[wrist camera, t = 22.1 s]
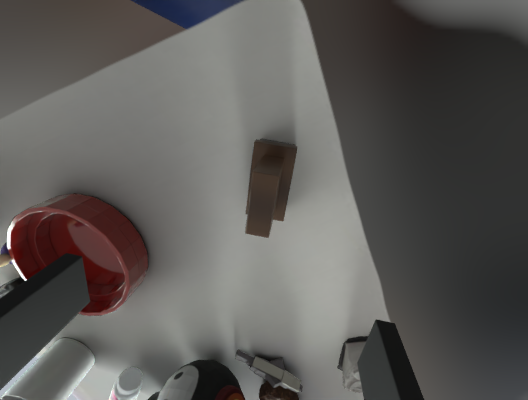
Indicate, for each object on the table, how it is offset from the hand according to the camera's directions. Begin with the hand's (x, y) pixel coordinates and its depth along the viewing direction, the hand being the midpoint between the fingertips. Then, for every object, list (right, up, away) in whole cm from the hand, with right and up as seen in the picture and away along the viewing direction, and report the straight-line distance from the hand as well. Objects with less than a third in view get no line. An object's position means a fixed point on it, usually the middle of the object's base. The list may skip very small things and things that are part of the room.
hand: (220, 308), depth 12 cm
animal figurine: (+3, -21, +29) cm, 36 cm away
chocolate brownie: (+7, -28, +32) cm, 43 cm away
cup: (-35, -25, +39) cm, 58 cm away
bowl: (-23, -2, +27) cm, 36 cm away
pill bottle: (-26, -34, +39) cm, 58 cm away
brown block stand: (+3, +8, +19) cm, 21 cm away
